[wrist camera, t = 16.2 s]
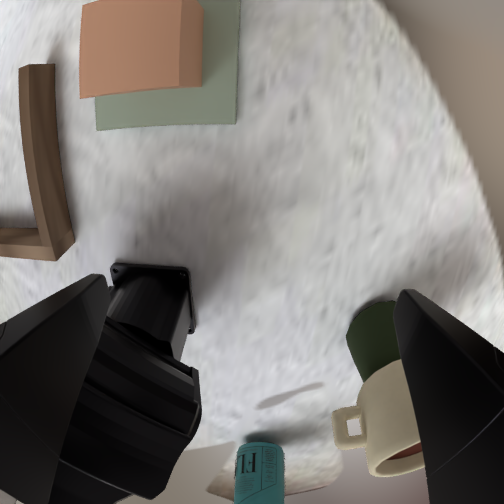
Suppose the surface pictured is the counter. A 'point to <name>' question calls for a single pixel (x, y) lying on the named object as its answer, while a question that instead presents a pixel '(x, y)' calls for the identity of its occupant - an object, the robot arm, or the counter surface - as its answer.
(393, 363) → the character mug
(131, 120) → the mat
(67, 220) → the stall
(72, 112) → the counter surface
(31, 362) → the robot arm
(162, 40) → the block
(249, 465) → the beverage bottle
